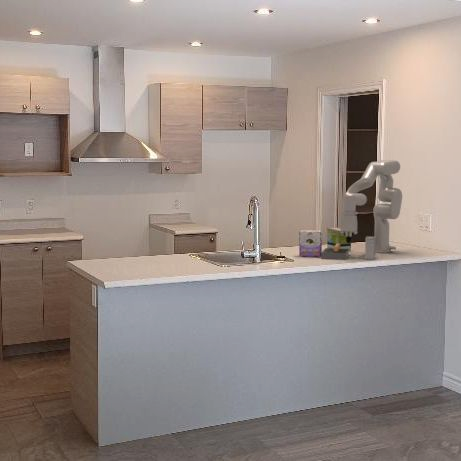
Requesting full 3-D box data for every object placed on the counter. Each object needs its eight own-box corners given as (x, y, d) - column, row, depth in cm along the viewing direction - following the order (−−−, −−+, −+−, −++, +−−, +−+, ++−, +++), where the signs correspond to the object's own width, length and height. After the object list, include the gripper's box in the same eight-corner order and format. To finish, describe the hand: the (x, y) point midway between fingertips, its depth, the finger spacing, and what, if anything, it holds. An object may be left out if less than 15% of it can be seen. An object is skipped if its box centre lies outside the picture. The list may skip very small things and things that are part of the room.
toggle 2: (338, 250, 455) (338, 245, 455) (337, 251, 452) (337, 246, 452) (334, 250, 456) (334, 245, 455) (333, 251, 453) (333, 246, 452)
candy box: (322, 256, 464) (322, 230, 462) (320, 257, 458) (321, 231, 456) (300, 255, 468) (300, 229, 466) (299, 256, 462) (299, 230, 460)
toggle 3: (340, 248, 466) (340, 243, 465) (339, 249, 463) (339, 244, 462) (336, 248, 466) (336, 243, 466) (335, 248, 463) (335, 244, 463)
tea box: (326, 249, 494) (326, 227, 492) (338, 248, 498) (339, 227, 496) (338, 252, 480) (339, 230, 478) (351, 251, 484) (351, 229, 483)
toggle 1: (339, 249, 460) (339, 244, 460) (338, 250, 457) (338, 245, 457) (335, 249, 461) (335, 244, 461) (334, 250, 458) (334, 245, 458)
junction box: (374, 256, 460) (375, 236, 458) (373, 259, 448) (374, 239, 446) (366, 256, 461) (366, 236, 460) (364, 259, 449) (365, 238, 448)
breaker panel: (348, 255, 468) (348, 248, 467) (345, 259, 448) (345, 252, 448) (325, 254, 471) (325, 247, 471) (321, 258, 452) (321, 252, 452)
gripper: (362, 213, 456) (361, 242, 458) (337, 212, 460) (337, 241, 462) (361, 214, 449) (360, 244, 451) (336, 213, 453) (335, 243, 455)
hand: (348, 242), depth 456 cm, fingers closed
